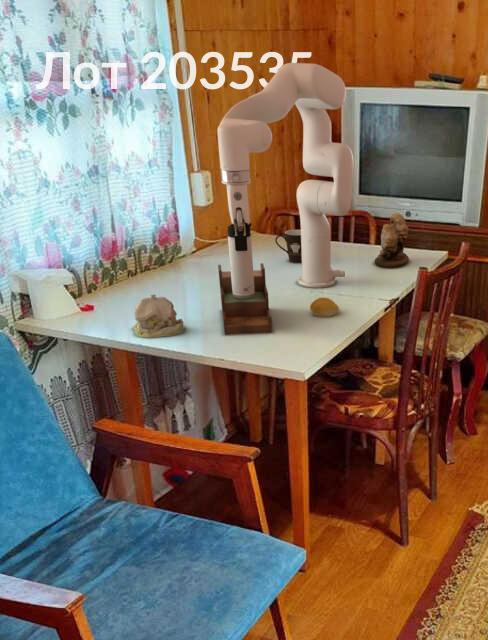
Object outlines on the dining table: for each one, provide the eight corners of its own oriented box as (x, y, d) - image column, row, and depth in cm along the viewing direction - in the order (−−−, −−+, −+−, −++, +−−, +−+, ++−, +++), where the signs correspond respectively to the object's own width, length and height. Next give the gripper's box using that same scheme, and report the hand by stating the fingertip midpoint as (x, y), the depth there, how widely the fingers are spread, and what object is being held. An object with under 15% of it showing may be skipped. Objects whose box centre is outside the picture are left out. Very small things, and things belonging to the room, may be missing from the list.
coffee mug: (314, 260, 271) (313, 231, 265) (300, 265, 264) (299, 236, 259) (289, 255, 276) (288, 227, 270) (274, 260, 270) (273, 231, 264)
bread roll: (316, 318, 217) (316, 305, 214) (307, 309, 224) (307, 296, 221) (343, 316, 219) (343, 302, 217) (333, 306, 226) (333, 293, 224)
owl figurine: (383, 254, 279) (384, 206, 270) (413, 257, 276) (416, 209, 267) (369, 266, 265) (370, 216, 255) (401, 270, 262) (403, 219, 252)
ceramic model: (130, 338, 200) (124, 302, 194) (134, 324, 209) (128, 289, 204) (183, 336, 202) (179, 300, 197) (185, 322, 211) (180, 287, 206)
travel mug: (251, 300, 207) (246, 226, 196) (229, 298, 208) (223, 224, 197) (259, 294, 212) (254, 221, 201) (237, 292, 213) (231, 219, 202)
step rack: (265, 308, 223) (263, 263, 216) (271, 332, 206) (269, 283, 199) (222, 310, 221) (218, 264, 214) (224, 334, 204) (220, 285, 196)
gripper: (252, 182, 187) (256, 255, 196) (248, 171, 201) (252, 239, 211) (222, 182, 185) (228, 256, 195) (220, 171, 199) (225, 240, 209)
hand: (240, 247), depth 203 cm, fingers closed on travel mug, 6 cm apart
